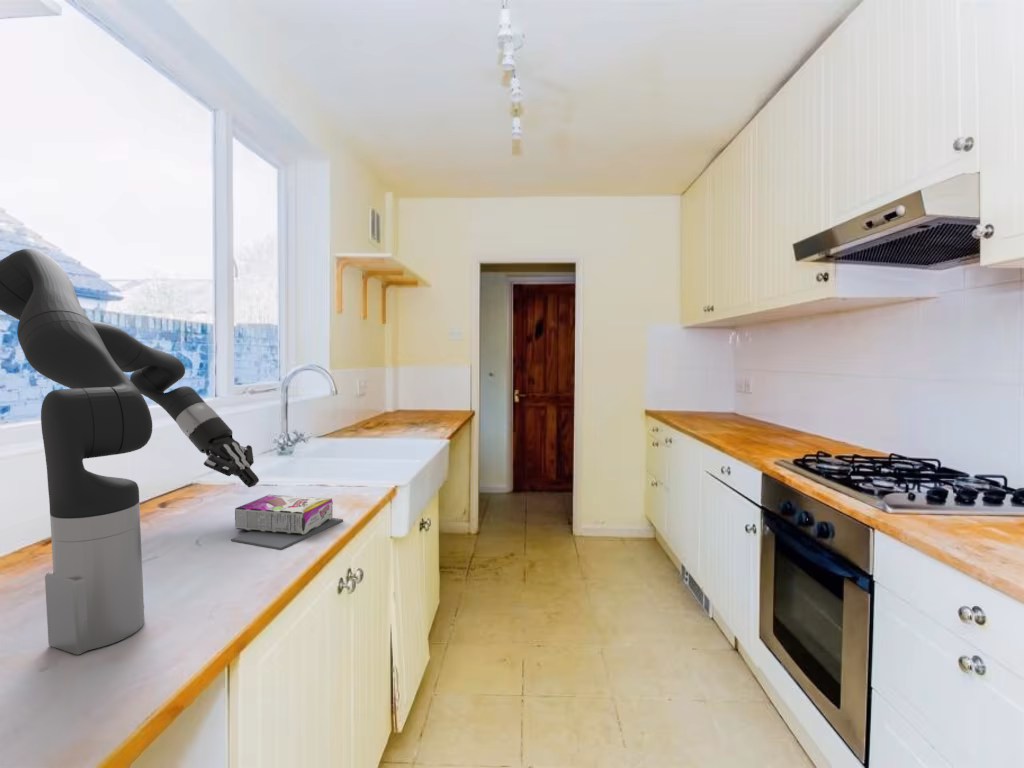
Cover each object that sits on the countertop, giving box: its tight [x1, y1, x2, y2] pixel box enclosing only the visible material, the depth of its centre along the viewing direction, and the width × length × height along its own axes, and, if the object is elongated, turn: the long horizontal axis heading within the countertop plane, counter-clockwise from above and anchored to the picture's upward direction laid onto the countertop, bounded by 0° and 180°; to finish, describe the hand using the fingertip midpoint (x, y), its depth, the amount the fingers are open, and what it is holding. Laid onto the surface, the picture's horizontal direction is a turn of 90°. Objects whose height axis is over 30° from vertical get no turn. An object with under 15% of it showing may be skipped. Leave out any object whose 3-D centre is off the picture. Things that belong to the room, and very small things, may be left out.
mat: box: [230, 517, 344, 551], centre depth 108 cm, size 18×13×1 cm
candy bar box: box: [234, 494, 333, 535], centre depth 111 cm, size 11×5×16 cm
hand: (254, 484), depth 112 cm, fingers closed
